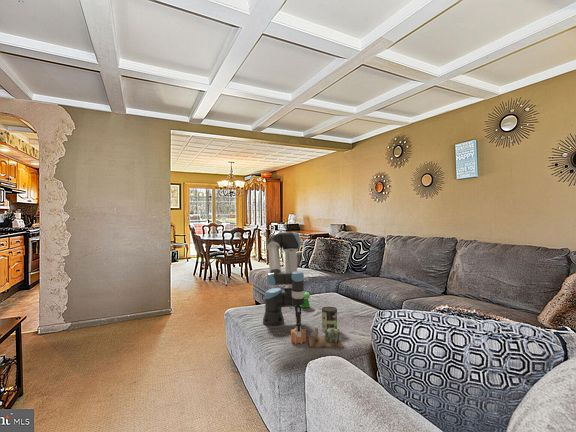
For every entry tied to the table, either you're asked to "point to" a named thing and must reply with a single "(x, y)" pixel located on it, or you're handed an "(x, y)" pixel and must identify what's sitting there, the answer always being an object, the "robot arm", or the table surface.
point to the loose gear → (298, 339)
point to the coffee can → (329, 318)
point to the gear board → (326, 339)
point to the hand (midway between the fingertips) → (298, 332)
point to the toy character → (306, 300)
